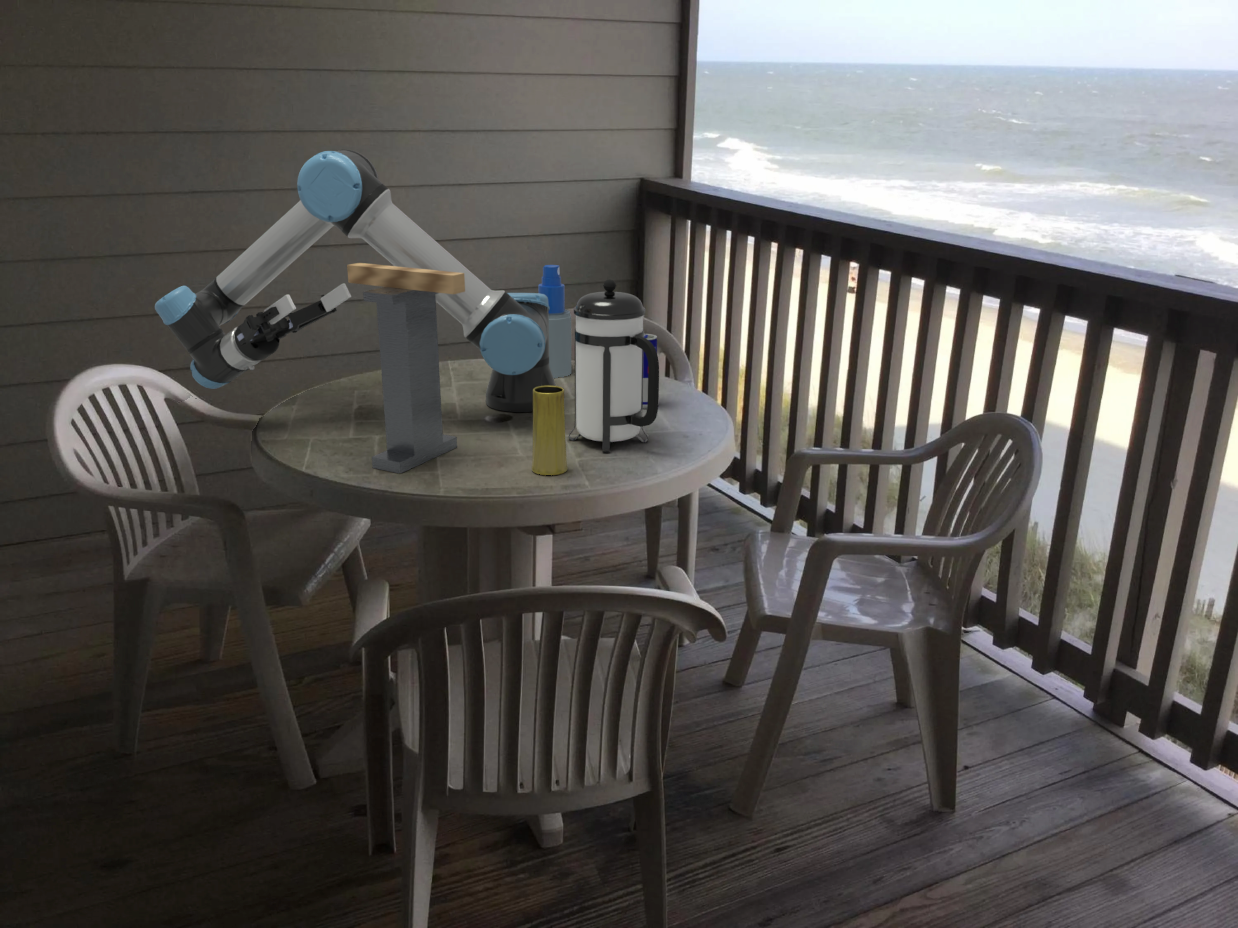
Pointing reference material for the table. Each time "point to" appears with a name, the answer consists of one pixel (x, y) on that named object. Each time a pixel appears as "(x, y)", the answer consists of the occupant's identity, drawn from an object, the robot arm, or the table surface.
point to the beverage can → (645, 369)
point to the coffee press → (612, 368)
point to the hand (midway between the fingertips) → (320, 295)
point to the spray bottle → (557, 322)
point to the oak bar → (406, 278)
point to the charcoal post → (409, 378)
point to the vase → (549, 431)
